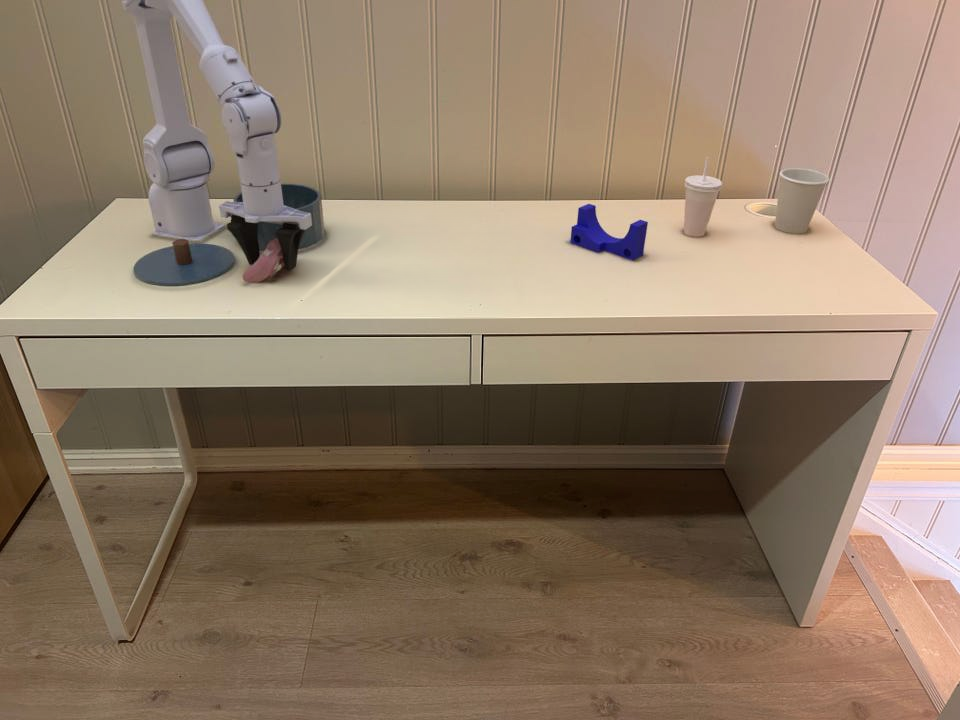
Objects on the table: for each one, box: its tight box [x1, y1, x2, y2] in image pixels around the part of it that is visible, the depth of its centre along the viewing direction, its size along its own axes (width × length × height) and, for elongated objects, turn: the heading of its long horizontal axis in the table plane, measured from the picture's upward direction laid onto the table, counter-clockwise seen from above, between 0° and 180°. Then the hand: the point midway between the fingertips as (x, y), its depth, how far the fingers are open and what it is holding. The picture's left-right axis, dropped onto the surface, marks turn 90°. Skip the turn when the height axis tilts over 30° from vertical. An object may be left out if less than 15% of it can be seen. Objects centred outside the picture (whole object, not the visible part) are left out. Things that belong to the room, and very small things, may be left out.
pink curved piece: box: [242, 238, 285, 284], centre depth 114 cm, size 10×5×7 cm, turn 169°
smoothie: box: [683, 156, 723, 238], centre depth 129 cm, size 6×6×14 cm
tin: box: [233, 183, 326, 252], centre depth 125 cm, size 14×14×7 cm
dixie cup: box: [774, 167, 830, 234], centre depth 133 cm, size 8×8×10 cm
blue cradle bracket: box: [569, 203, 649, 261], centre depth 124 cm, size 12×4×6 cm, turn 47°
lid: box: [133, 238, 235, 287], centre depth 115 cm, size 15×15×4 cm
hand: (272, 265), depth 114 cm, fingers closed on pink curved piece, 6 cm apart
